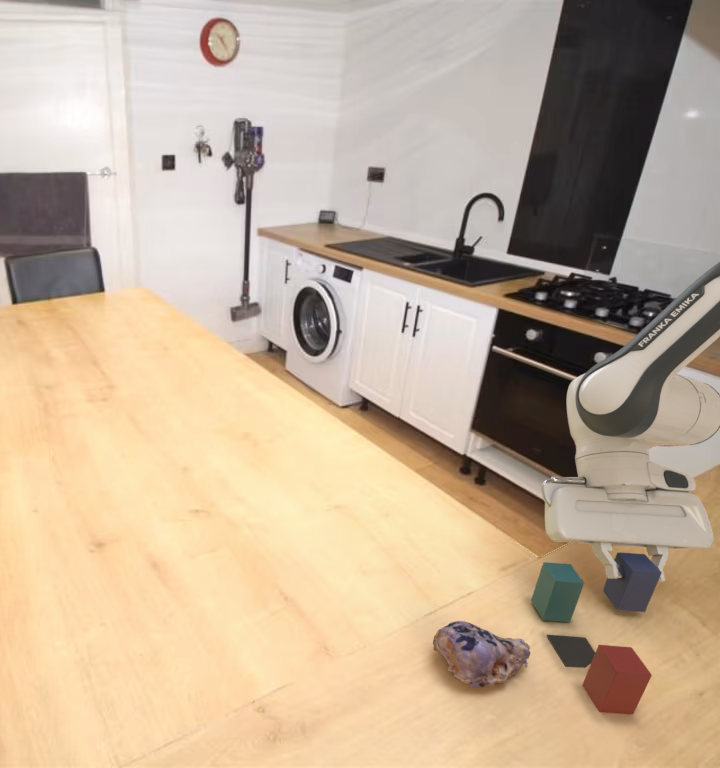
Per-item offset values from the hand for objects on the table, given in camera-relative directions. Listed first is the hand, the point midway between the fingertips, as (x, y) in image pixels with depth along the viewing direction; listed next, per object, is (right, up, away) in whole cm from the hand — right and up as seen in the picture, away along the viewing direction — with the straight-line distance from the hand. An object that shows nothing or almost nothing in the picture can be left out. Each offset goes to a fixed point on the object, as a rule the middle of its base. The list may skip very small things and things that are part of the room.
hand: (636, 580), depth 73 cm
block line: (-11, -8, -4) cm, 14 cm away
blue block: (0, -4, +2) cm, 4 cm away
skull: (-24, -9, -6) cm, 26 cm away
